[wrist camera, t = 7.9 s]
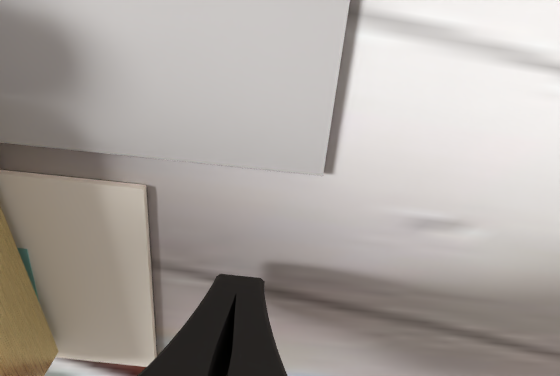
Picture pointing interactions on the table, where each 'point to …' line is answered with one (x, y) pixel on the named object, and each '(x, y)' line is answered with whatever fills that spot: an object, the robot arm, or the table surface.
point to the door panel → (148, 134)
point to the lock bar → (20, 316)
